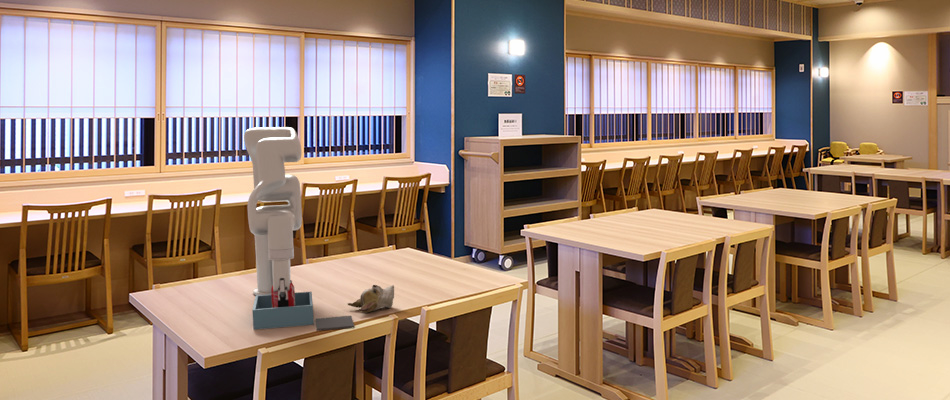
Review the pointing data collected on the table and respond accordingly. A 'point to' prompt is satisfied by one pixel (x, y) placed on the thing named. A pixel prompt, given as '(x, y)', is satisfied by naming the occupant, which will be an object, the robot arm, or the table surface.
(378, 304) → the ceramic sculpture
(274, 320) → the open box
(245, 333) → the table surface
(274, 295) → the soda can
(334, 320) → the gray square plate
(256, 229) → the robot arm
